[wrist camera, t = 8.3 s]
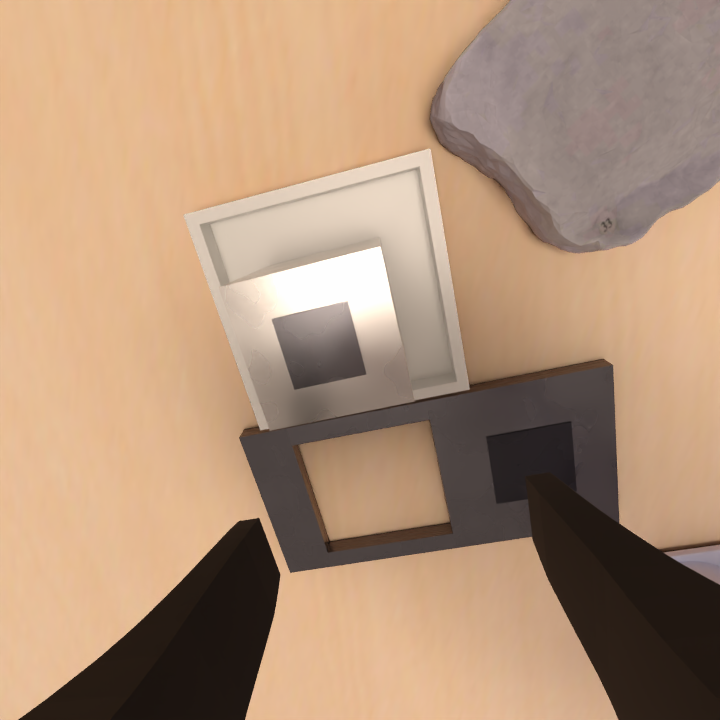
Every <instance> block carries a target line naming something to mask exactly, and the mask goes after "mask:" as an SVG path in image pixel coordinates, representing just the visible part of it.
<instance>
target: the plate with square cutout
mask: <svg viewBox="0 0 720 720" xmlns="http://www.w3.org/2000/svg"><path fill="white" fill-rule="evenodd" d="M469 387H470V390H465V391H460V392H455V393H449V394H444V395H439V396H434V397H429V398H424V399H419V400H415V402H410V403H405V404H400V405H395V406H390V407H385V408H380V409H375V410H370V411H365V412H360V413H355V414H350V415H345V416H340V417H335V418H330V419H325V420H320V421H316V422H311V423H306V424H301V425H296V426H291V427H286V428H281V429H276V430H271V431H270V430H269V429H265V430H260V428H259V427H256V428H250V429H245V430H244V431H243V432H242V434H241V436H240V437H239V438H240V441H241V444H242V446H243V449H244V452H245V454H246V457H247V460H248V462H249V465H250V467H251V470H252V473H253V475H254V478H255V481H256V483H257V486H258V489H259V491H260V494H261V497H262V499H263V502H264V504H265V507H266V510H267V512H268V515H269V518H270V520H271V523H272V526H273V528H274V531H275V534H276V536H277V539H278V541H279V544H280V547H281V549H282V552H283V555H284V557H285V560H286V563H287V565H288V568H289V570H290V573H292V572H298V571H305V570H312V569H318V568H325V567H332V566H338V565H345V564H352V563H358V562H365V561H372V560H379V559H385V558H392V557H399V556H405V555H412V554H419V553H425V552H432V551H439V550H445V549H452V548H459V547H465V546H472V545H479V544H486V543H492V542H499V541H506V540H512V539H519V538H526V537H532V530H531V522H530V513H529V505H528V497H527V488H526V480H525V476H529V475H535V474H541V473H548V472H550V473H552V474H553V475H555V476H556V477H557V478H558V479H560V480H561V481H562V482H564V483H565V484H566V485H568V486H569V487H570V488H571V489H573V490H574V491H575V492H577V493H578V494H579V495H581V496H582V497H583V498H585V499H586V500H587V501H589V502H590V503H591V504H593V505H594V506H595V507H597V508H598V509H599V510H601V511H602V512H603V513H605V514H606V515H608V516H609V517H611V518H612V519H613V520H615V521H616V522H618V523H619V505H618V480H617V455H616V429H615V404H614V379H613V365H612V364H611V363H609V362H607V361H606V360H604V359H602V360H597V361H592V362H587V363H581V364H576V365H571V366H566V367H561V368H556V369H551V370H546V371H541V372H536V373H531V374H525V375H520V376H515V377H510V378H505V379H500V380H495V381H490V382H485V383H480V384H475V385H469ZM425 420H430V424H431V429H432V434H433V439H434V444H435V449H436V454H437V459H438V464H439V469H440V473H441V478H442V483H443V488H444V493H445V498H446V503H447V508H448V513H449V518H450V523H447V524H441V525H434V526H428V527H421V528H415V529H409V530H402V531H396V532H390V533H383V534H377V535H370V536H364V537H358V538H351V539H345V540H339V541H332V542H329V539H328V536H327V533H326V530H325V527H324V524H323V521H322V518H321V515H320V512H319V509H318V505H317V502H316V499H315V496H314V493H313V490H312V487H311V484H310V481H309V478H308V475H307V472H306V469H305V466H304V463H303V460H302V457H301V454H300V451H299V448H298V444H303V443H309V442H314V441H319V440H325V439H330V438H335V437H341V436H346V435H351V434H356V433H362V432H367V431H372V430H378V429H383V428H388V427H394V426H399V425H404V424H410V423H415V422H420V421H425Z"/></svg>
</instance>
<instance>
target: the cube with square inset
mask: <svg viewBox="0 0 720 720" xmlns="http://www.w3.org/2000/svg"><path fill="white" fill-rule="evenodd" d="M219 290H220V293H221V296H222V299H223V301H224V304H225V307H226V310H227V313H228V315H229V318H230V321H231V324H232V327H233V329H234V332H235V335H236V338H237V341H238V343H239V346H240V349H241V352H242V355H243V357H244V360H245V363H246V366H247V369H248V371H249V374H250V377H251V380H252V383H253V385H254V388H255V391H256V394H257V396H258V399H259V402H260V405H261V408H262V410H263V413H264V416H265V419H266V422H267V424H268V427H269V430H270V431H271V430H276V429H281V428H286V427H291V426H296V425H301V424H306V423H311V422H316V421H320V420H325V419H330V418H335V417H340V416H345V415H350V414H355V413H360V412H365V411H370V410H375V409H380V408H385V407H390V406H395V405H400V404H405V403H410V402H415V400H414V395H413V390H412V385H411V379H410V374H409V369H408V364H407V359H406V353H405V348H404V343H403V339H402V334H401V330H400V325H399V321H398V316H397V312H396V307H395V303H394V298H393V294H392V289H391V285H390V280H389V276H388V271H387V266H386V262H385V257H384V253H383V248H382V244H381V239H380V237H378V238H374V239H370V240H366V241H363V242H359V243H355V244H351V245H347V246H343V247H339V248H335V249H331V250H327V251H323V252H319V253H315V254H311V255H308V256H304V257H300V258H296V259H292V260H288V261H284V262H280V263H276V264H272V265H269V266H266V267H264V268H262V269H260V270H257V271H255V272H253V273H250V274H248V275H246V276H243V277H241V278H239V279H237V280H234V281H232V282H230V283H227V284H225V285H223V286H221V287H219Z"/></svg>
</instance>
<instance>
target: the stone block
mask: <svg viewBox="0 0 720 720" xmlns="http://www.w3.org/2000/svg"><path fill="white" fill-rule="evenodd" d="M430 120H431V123H432V126H433V128H434V130H435V133H436V135H437V137H438V140H439V142H440V143H441V144H442V145H443V146H444V147H446V148H447V149H448V150H449V151H451V152H452V153H453V154H455V155H457V156H459V157H461V158H462V159H463V160H464V161H465V162H467V163H469V164H471V165H473V166H475V167H476V168H477V169H478V170H479V171H480V172H482V173H483V174H484V175H486V176H487V177H489V178H493V179H495V180H496V181H497V182H498V183H499V184H500V185H501V186H502V187H503V188H504V189H505V190H506V192H507V194H508V196H509V198H510V199H511V201H512V202H513V205H514V207H515V209H516V211H517V213H518V214H519V215H520V216H521V217H522V219H523V220H524V221H525V222H526V223H527V224H528V225H529V226H530V228H531V229H532V231H533V233H534V234H535V235H536V236H537V237H538V238H539V239H541V240H542V241H543V242H546V243H550V244H552V245H554V246H556V247H558V248H560V249H561V250H564V251H567V252H573V253H585V252H593V251H598V250H609V249H612V248H615V247H619V246H626V245H629V244H632V243H634V242H636V241H638V240H639V239H641V238H642V237H643V236H644V235H645V234H646V233H647V231H648V230H649V229H650V228H651V227H652V225H653V224H654V223H655V222H656V221H657V220H658V219H659V218H661V217H662V216H664V215H665V214H667V213H668V212H670V211H673V210H676V209H679V208H682V207H684V206H686V205H687V204H689V203H691V202H692V201H693V200H695V199H696V198H697V197H699V196H700V195H702V194H703V193H705V192H707V191H708V190H709V189H711V188H712V187H713V186H714V185H715V184H716V183H717V182H718V181H719V180H720V0H510V1H509V2H508V4H507V5H506V6H505V7H504V8H503V9H502V10H501V11H500V12H499V13H498V14H497V15H496V16H495V17H494V18H493V19H492V20H491V21H490V22H489V23H488V24H487V25H486V26H485V27H484V28H483V29H482V30H481V31H480V32H479V34H478V35H477V36H476V38H475V39H474V40H473V41H472V42H471V43H470V45H469V46H468V47H467V48H466V49H465V50H464V52H463V53H462V54H461V55H460V57H459V58H458V59H457V61H456V62H455V63H454V65H453V66H452V68H451V69H450V70H449V72H448V73H447V75H446V76H445V78H444V80H443V82H442V83H441V85H440V86H439V88H438V89H437V92H436V95H435V96H434V98H433V100H432V105H431V113H430Z"/></svg>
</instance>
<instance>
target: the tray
mask: <svg viewBox="0 0 720 720" xmlns="http://www.w3.org/2000/svg"><path fill="white" fill-rule="evenodd" d="M184 218H185V221H186V224H187V226H188V229H189V232H190V235H191V238H192V240H193V243H194V246H195V249H196V252H197V254H198V257H199V260H200V263H201V266H202V268H203V271H204V274H205V277H206V280H207V282H208V285H209V288H210V291H211V294H212V296H213V299H214V302H215V305H216V308H217V310H218V313H219V316H220V319H221V322H222V324H223V327H224V330H225V333H226V336H227V338H228V341H229V344H230V347H231V350H232V352H233V355H234V358H235V361H236V364H237V366H238V369H239V372H240V375H241V378H242V380H243V383H244V386H245V389H246V392H247V394H248V397H249V400H250V403H251V406H252V408H253V411H254V414H255V417H256V420H257V422H258V425H259V428H260V430H265V429H269V427H268V424H267V422H266V419H265V416H264V413H263V410H262V408H261V405H260V402H259V399H258V396H257V394H256V391H255V388H254V385H253V383H252V380H251V377H250V374H249V371H248V369H247V366H246V363H245V360H244V357H243V355H242V352H241V349H240V346H239V343H238V341H237V338H236V335H235V332H234V329H233V327H232V324H231V321H230V318H229V315H228V313H227V310H226V307H225V304H224V301H223V299H222V296H221V293H220V290H219V287H221V286H223V285H225V284H227V283H230V282H232V281H234V280H237V279H239V278H241V277H243V276H246V275H248V274H250V273H253V272H255V271H257V270H260V269H262V268H264V267H266V266H269V265H272V264H276V263H280V262H284V261H288V260H292V259H296V258H300V257H304V256H308V255H311V254H315V253H319V252H323V251H327V250H331V249H335V248H339V247H343V246H347V245H351V244H355V243H359V242H363V241H366V240H370V239H374V238H378V237H380V239H381V244H382V248H383V253H384V257H385V262H386V266H387V271H388V276H389V280H390V285H391V289H392V294H393V298H394V303H395V307H396V312H397V316H398V321H399V325H400V330H401V334H402V339H403V343H404V348H405V353H406V359H407V364H408V369H409V374H410V379H411V385H412V390H413V395H414V400H419V399H424V398H429V397H434V396H439V395H444V394H449V393H455V392H460V391H465V390H470V387H469V381H468V375H467V369H466V363H465V357H464V351H463V344H462V338H461V332H460V326H459V320H458V314H457V308H456V302H455V296H454V290H453V283H452V277H451V271H450V265H449V259H448V253H447V247H446V241H445V235H444V228H443V222H442V216H441V210H440V204H439V198H438V192H437V186H436V180H435V173H434V167H433V161H432V155H431V149H426V150H422V151H419V152H415V153H411V154H407V155H404V156H400V157H396V158H393V159H389V160H385V161H381V162H378V163H374V164H370V165H366V166H363V167H359V168H355V169H352V170H348V171H344V172H340V173H337V174H333V175H329V176H326V177H322V178H318V179H314V180H311V181H307V182H303V183H299V184H296V185H292V186H288V187H285V188H281V189H277V190H273V191H270V192H266V193H262V194H259V195H255V196H251V197H247V198H244V199H240V200H236V201H232V202H229V203H225V204H221V205H218V206H214V207H210V208H206V209H203V210H199V211H195V212H192V213H188V214H184Z"/></svg>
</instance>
